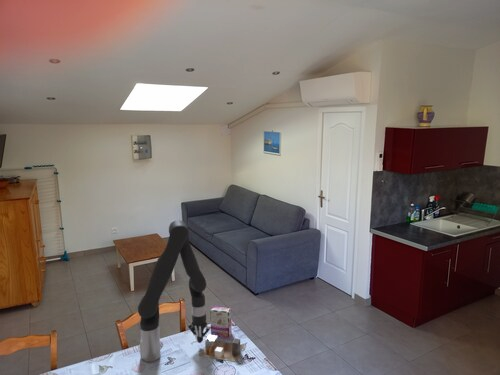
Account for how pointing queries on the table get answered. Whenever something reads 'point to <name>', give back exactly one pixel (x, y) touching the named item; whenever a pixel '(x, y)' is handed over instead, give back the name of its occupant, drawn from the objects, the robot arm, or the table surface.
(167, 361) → the table surface
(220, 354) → the matte white cube
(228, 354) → the tan rectangular open box
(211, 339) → the cube with orange peg
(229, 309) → the candy bar box
